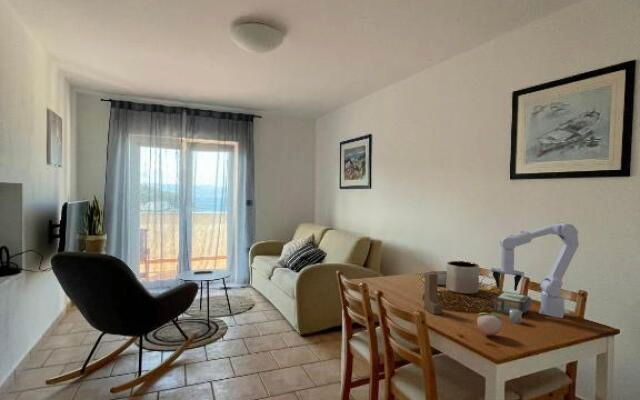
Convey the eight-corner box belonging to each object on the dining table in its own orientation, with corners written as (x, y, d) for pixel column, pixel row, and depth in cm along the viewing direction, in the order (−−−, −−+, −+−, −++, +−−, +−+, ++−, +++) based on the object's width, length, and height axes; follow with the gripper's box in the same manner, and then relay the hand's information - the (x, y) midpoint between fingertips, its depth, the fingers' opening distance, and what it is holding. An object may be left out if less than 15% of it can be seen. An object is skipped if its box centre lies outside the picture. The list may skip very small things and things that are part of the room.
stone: (522, 321, 158) (522, 310, 158) (520, 324, 155) (520, 313, 154) (510, 318, 161) (510, 308, 161) (508, 321, 158) (508, 310, 157)
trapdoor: (530, 306, 172) (531, 296, 172) (525, 312, 163) (526, 302, 163) (503, 300, 180) (504, 292, 180) (497, 306, 171) (497, 297, 171)
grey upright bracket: (442, 314, 166) (443, 276, 166) (434, 314, 165) (434, 276, 165) (432, 307, 175) (432, 271, 175) (423, 308, 174) (424, 272, 174)
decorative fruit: (480, 339, 138) (480, 314, 138) (474, 331, 146) (475, 307, 146) (505, 341, 137) (506, 315, 136) (499, 333, 145) (499, 309, 144)
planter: (458, 295, 196) (459, 267, 196) (440, 287, 213) (440, 261, 213) (485, 293, 201) (486, 266, 201) (465, 285, 218) (465, 260, 218)
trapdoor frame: (527, 309, 174) (527, 295, 174) (520, 317, 163) (521, 302, 163) (501, 304, 182) (502, 291, 182) (494, 311, 171) (494, 297, 170)
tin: (450, 284, 220) (451, 271, 220) (452, 286, 217) (452, 272, 217) (426, 283, 222) (426, 270, 221) (427, 285, 218) (427, 271, 218)
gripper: (525, 262, 172) (525, 289, 172) (493, 258, 181) (493, 284, 181) (522, 264, 166) (522, 292, 167) (489, 260, 176) (489, 287, 176)
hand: (506, 288), depth 174 cm, fingers open, 7 cm apart
